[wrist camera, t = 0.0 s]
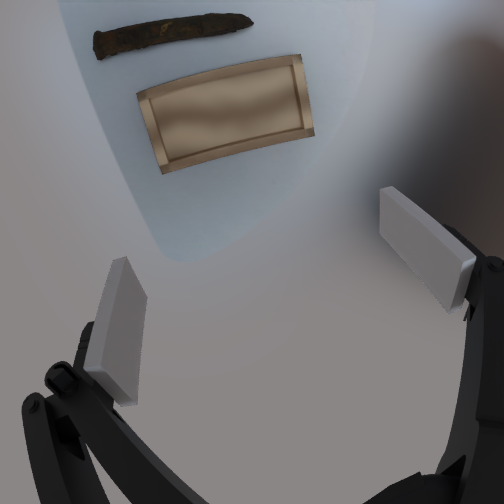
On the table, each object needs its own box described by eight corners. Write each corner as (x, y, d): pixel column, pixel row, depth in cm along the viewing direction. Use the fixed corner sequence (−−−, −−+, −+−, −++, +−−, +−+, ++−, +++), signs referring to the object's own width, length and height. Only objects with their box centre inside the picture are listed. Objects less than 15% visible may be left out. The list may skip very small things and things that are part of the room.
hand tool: (101, 61, 30) (90, 61, 27) (99, 33, 28) (88, 29, 24) (250, 45, 33) (257, 42, 29) (250, 16, 31) (257, 10, 27)
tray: (139, 91, 34) (136, 93, 31) (294, 54, 34) (300, 53, 32) (163, 168, 40) (162, 174, 38) (308, 131, 40) (314, 135, 38)
